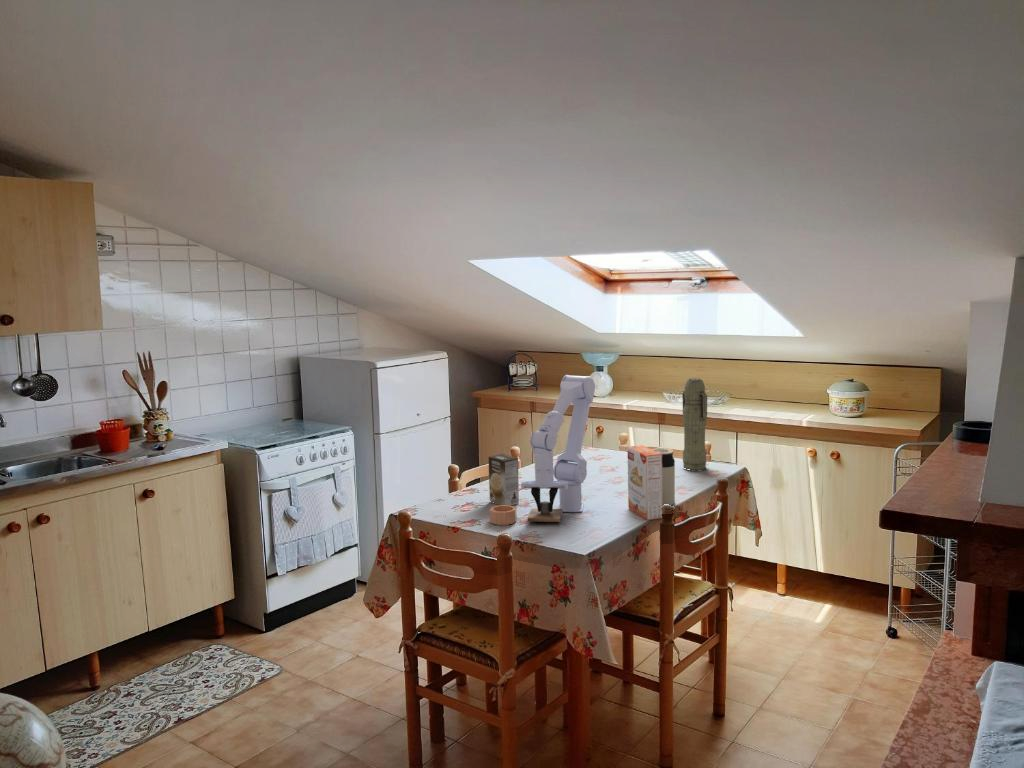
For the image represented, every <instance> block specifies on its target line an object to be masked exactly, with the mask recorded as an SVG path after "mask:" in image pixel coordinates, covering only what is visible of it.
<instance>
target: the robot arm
mask: <svg viewBox="0 0 1024 768" xmlns="http://www.w3.org/2000/svg"><path fill="white" fill-rule="evenodd" d="M559 387H560V393H559V395H558V398H557V400H556V403H555V404H554V407H553V409H552V410H550V411H549V412H547V413H546V416H545V417H544V419H543V421H542V423H541V424H540V426H539V428H538V430H535V431H534V432H533V433H532V434H531V436H530V439H529V443H530V446H531V448H532V453H533V455H534V479H535V480H528V481H521V483H520V485H521V486H520V489H521V490H525V489H531V490H530V493H531V495H532V497H533V499H534V501H535V504H536V507H537V508H536V509H538V512H540V511H541V510H540V503H541V502H542V501H541V490H542V489H545V490H546V489H547V490H548V494H549V502H550V512H552V509H554V501H555V499H556V496H557V495H558V494H559V496H558V497H559V505H558V508H557V509H563V513H582V512H583V509H584V505H585V503H584V502H582V483H584V482H585V480H586V478H587V474H588V473H587V472H588V471H587V470H588V469H587V466H588V465H587V464H588V463H587V460H586V459H585V458H584V457H583V455H582V449H583V444H584V438H585V433H586V428H587V422H588V417H589V412H590V406H591V404H592V403H593V402H594V396H595V390H596V383H595V380H594V378H593V377H592V376H591V375H588V376H584V375H583V376H582V375H569V374H565V375H564V376H563V377H562V379H561V382H560V386H559ZM571 404H572V405H573V409H572V415H571V419H570V424H569V425H570V426H569V429H568V434H567V439H566V444H565V450H564V452H562V453H561V454H560V455H558V456H557V459H556V463H555V464H554V451H553V450H554V449H555V447H556V446H557V442H558V441H557V440H558V437H559V435H558V433H559V431H560V430H561V427H562V425H563V423H564V417H563V416H564V414H565V413H566V411H567V410H568V408H569V407H570V406H571ZM558 492H559V493H558Z"/></svg>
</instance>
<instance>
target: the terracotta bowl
mask: <svg viewBox="0 0 1024 768" xmlns="http://www.w3.org/2000/svg"><path fill="white" fill-rule="evenodd" d="M517 518H518V517H517V506H515V505H513V506H511V505H495V506H491V507H490V509H489V522H492V523H494V524H498V525H506V526H510V525H509V524H512V523H514V522H515V521H517ZM492 523H491V524H492ZM515 523H516V522H515ZM515 523H514V524H515ZM494 524H493V525H494ZM498 525H497V526H498ZM512 525H513V524H512Z"/></svg>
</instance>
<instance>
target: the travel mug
mask: <svg viewBox="0 0 1024 768" xmlns="http://www.w3.org/2000/svg"><path fill="white" fill-rule="evenodd" d="M651 450H653V451H655V452H658V453H660V454H662V501H663V505H664V504H669V505H671V506H673V505H674V504H675V503H676V500H675V499H676V498H675V497H676V496H675V493H676V490H675V488H676V484H675V478H676V476H675V473H676V471H675V470H676V469H675V468H676V467H675V466H676V465H675V463H676V462H675V458H674V457H673V454H674V452H675V451H674V450H673V449H671V448H665V447H661V448H660V447H657V448H653V449H651Z"/></svg>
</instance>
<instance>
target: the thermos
mask: <svg viewBox="0 0 1024 768" xmlns="http://www.w3.org/2000/svg"><path fill="white" fill-rule="evenodd" d="M707 417H708V395H707V393H706V386H705V382H704V380H703V379H701V378H688V379H687V380H686V382H685V384H684V390H683V392H682V424H683V427H684V428H683V430H684V431H683V432H684V433H683V435H684V436H683V437H684V438H683V439H684V442H683V444H684V445H683V450H682V462H683V464H682V465H683V466H682V468H683V467H684V468H686V469H690V470H703V469H705V470H706V469H707V450H706V425H707V419H708V418H707ZM703 471H704V470H703Z"/></svg>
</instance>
